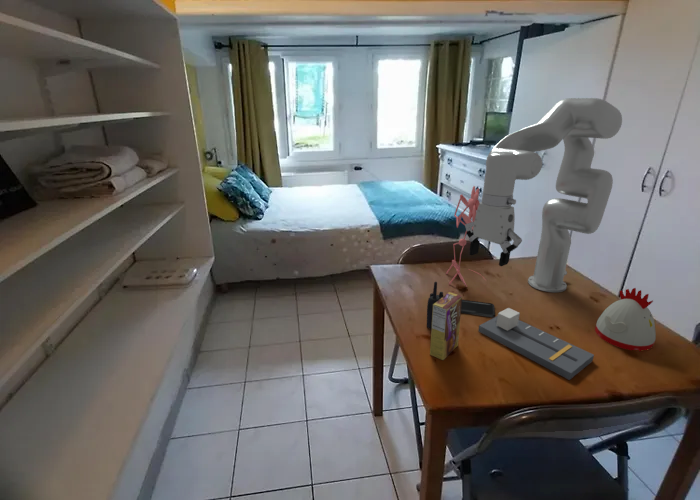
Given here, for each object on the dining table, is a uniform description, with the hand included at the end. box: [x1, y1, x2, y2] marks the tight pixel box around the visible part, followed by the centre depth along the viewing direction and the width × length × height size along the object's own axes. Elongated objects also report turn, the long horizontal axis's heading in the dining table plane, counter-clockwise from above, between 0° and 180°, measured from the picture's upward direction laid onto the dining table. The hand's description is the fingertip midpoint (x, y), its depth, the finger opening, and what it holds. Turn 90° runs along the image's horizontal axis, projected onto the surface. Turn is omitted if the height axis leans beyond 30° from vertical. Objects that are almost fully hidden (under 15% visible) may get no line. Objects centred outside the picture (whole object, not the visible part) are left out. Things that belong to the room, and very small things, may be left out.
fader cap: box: [496, 307, 521, 331], centre depth 111 cm, size 5×4×4 cm
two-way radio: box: [426, 281, 444, 330], centre depth 113 cm, size 6×4×15 cm
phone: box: [461, 299, 496, 318], centre depth 125 cm, size 8×1×15 cm
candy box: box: [429, 291, 463, 361], centre depth 102 cm, size 9×4×15 cm, turn 140°
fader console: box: [477, 315, 595, 381], centre depth 106 cm, size 12×26×2 cm, turn 36°
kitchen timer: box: [594, 287, 657, 352], centre depth 108 cm, size 14×14×15 cm
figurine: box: [445, 185, 488, 293], centre depth 138 cm, size 15×26×35 cm, turn 174°
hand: (487, 259), depth 110 cm, fingers open, 9 cm apart
